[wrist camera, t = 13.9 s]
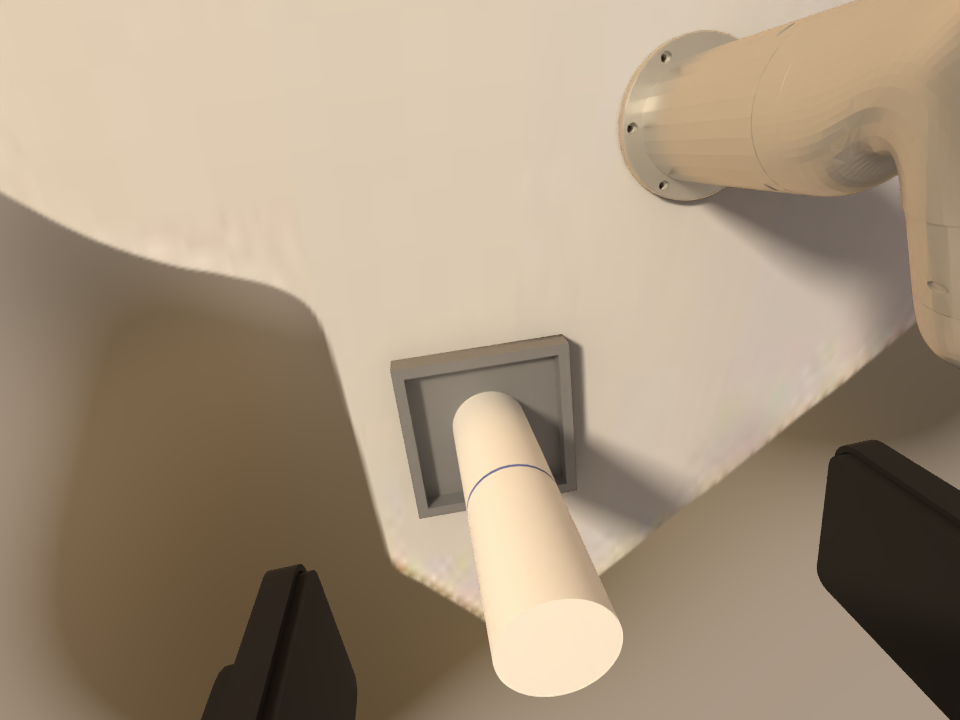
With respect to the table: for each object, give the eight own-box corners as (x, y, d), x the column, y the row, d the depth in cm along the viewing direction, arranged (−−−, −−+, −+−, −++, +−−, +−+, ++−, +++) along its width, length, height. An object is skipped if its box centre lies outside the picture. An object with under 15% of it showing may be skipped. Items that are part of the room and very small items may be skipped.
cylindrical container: (521, 385, 50) (621, 586, 27) (528, 449, 53) (624, 681, 30) (447, 398, 50) (484, 614, 26) (458, 462, 52) (500, 708, 29)
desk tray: (561, 334, 49) (568, 342, 47) (570, 476, 55) (576, 490, 53) (390, 361, 48) (390, 371, 46) (418, 503, 54) (419, 518, 52)
